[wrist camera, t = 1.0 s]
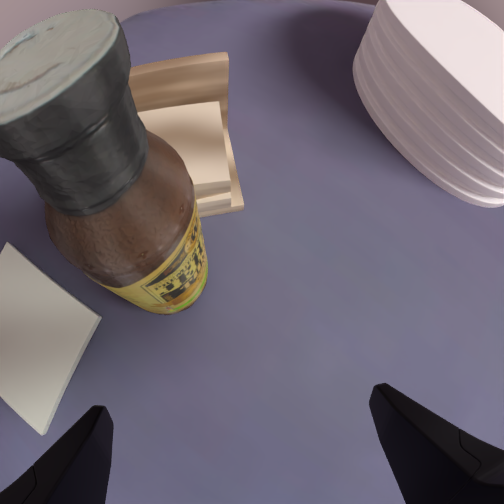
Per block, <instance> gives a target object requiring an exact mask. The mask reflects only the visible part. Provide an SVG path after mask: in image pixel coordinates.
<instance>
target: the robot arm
mask: <svg viewBox="0 0 504 504" xmlns="http://www.w3.org/2000/svg"><path fill="white" fill-rule="evenodd" d="M369 406H370V410H371V413H372V417H373V420H374V423H375V427H376V430H377V434H378V437H379V440H380V443H381V445H382V448H383V450H384V452H385V455H386V457H387V459H388V462H389V464H390V466H391V469H392V471H393V474H394V476H395V478H396V481H397V483H398V486H399V488H400V490H401V493H402V495H403V498H404V500H405V503H406V504H504V450H502V449H499V448H497V447H495V446H492V445H490V444H488V443H486V442H484V441H482V440H479V439H477V438H476V437H474V436H472V435H470V434H468V433H467V432H465V431H463V430H462V429H459V428H458V427H456V426H455V425H453V424H451V423H450V422H448V421H446V420H445V419H443V418H441V417H440V416H438V415H436V414H435V413H433V412H432V411H430V410H428V409H427V408H425V407H423V406H422V405H420V404H419V403H417V402H415V401H414V400H412V399H411V398H409V397H407V396H406V395H404V394H403V393H401V392H399V391H398V390H396V389H395V388H393V387H391V386H390V385H388V384H386V383H382V384H378V385H375V386H374V388H373V391H372V394H371V397H370V400H369ZM112 441H113V421H112V419H111V417H110V414H109V412H108V410H107V408H106V407H105V406H101V405H94V406H92V407H91V408H90V409H89V410H88V411H87V412H86V413H85V414H84V415H83V416H82V417H81V418H80V419H79V420H78V421H77V422H76V423H75V424H74V425H73V426H72V427H71V428H70V429H69V430H68V431H67V432H66V433H65V434H64V435H63V436H62V437H61V438H60V439H59V440H57V441H56V442H55V443H54V444H53V445H52V446H51V447H50V448H49V449H48V450H47V451H46V452H45V453H44V454H43V455H42V456H41V457H40V458H39V459H38V460H37V461H36V462H35V463H34V464H33V465H32V466H31V467H30V468H29V469H28V470H27V471H26V472H25V473H24V474H23V475H21V476H20V477H19V478H18V479H17V480H16V481H15V482H13V483H12V484H11V485H10V486H8V487H7V488H6V489H4V490H3V491H2V492H1V493H0V504H105V500H106V493H107V487H108V480H109V474H110V468H111V459H112Z"/></svg>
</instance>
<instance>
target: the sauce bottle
mask: <svg viewBox="0 0 504 504" xmlns="http://www.w3.org/2000/svg"><path fill="white" fill-rule="evenodd" d="M130 69H131V62H130V54H129V50H128V46H127V41H126V38H125V35H124V32H123V29H122V27H121V25H120V23H119V20H118V19H117V17H116V16H115V15H113V14H112V13H109V12H106V11H102V10H96V9H89V10H88V9H85V10H77V11H72V12H66V13H62V14H59V15H56V16H54V17H51V18H49V19H46V20H44V21H42V22H40V23H38V24H36V25H34V26H32V27H30V28H29V29H27V30H25V31H23V32H22V33H20V34H19V35H17V36H16V37H15V38H13V39H12V40H11V41H10V42H9V43H8V44H7V45H6V46H4V47H3V48H2V49H1V50H0V157H2V158H5V159H7V160H10V161H13V162H14V163H15V165H16V166H17V167H18V168H19V169H21V171H22V172H24V174H25V175H26V176H27V177H28V178H29V180H30V181H31V182H32V183H33V184H34V185H35V187H36V189H37V191H38V193H39V195H40V197H41V198H42V199H43V200H45V219H46V225H47V228H48V232H49V235H50V239H51V240H52V242H53V243H54V244H55V246H56V247H57V249H58V250H59V251H60V253H62V254H63V255H64V256H65V258H66V259H67V260H68V261H69V262H70V263H71V264H73V265H74V266H75V267H77V268H79V269H81V270H82V271H83V272H84V273H85V274H86V275H87V276H88V277H89V278H90V279H92V280H93V281H95V282H97V283H98V284H100V285H102V286H104V287H105V288H107V289H109V290H111V291H112V292H114V293H115V294H117V295H119V296H120V297H122V298H124V299H126V300H128V301H130V302H131V303H133V304H135V305H137V306H139V307H140V308H142V309H144V310H147V311H149V312H152V313H157V314H164V315H171V314H175V313H178V312H180V311H183V310H186V309H187V308H189V307H190V306H192V305H193V303H194V302H195V301H196V300H197V299H198V298H199V296H200V294H201V293H202V291H203V289H204V288H205V286H206V282H207V274H208V262H207V257H206V252H205V246H204V238H203V234H202V228H201V223H200V218H199V213H198V207H197V201H196V195H195V189H194V184H193V181H192V179H191V177H190V175H189V173H188V171H187V168H186V166H185V164H184V161H183V160H182V158H181V157H180V156H179V154H178V153H177V151H176V150H175V149H174V148H173V147H172V146H171V145H169V144H168V143H167V142H166V141H165V140H164V139H162V138H160V137H159V136H157V135H155V134H153V133H152V132H150V131H148V130H146V128H145V126H144V123H143V122H142V120H141V119H140V117H139V116H138V114H137V110H136V106H135V103H134V100H133V97H132V94H131V89H130V87H129V84H128V81H129V75H130Z"/></svg>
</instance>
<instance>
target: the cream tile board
mask: <svg viewBox="0 0 504 504" xmlns="http://www.w3.org/2000/svg"><path fill="white" fill-rule="evenodd" d="M101 319H102V317H101V316H100V315H99V314H97V313H96V312H94V311H93V310H92V309H90V308H89V307H88V306H86V305H85V304H84V303H82V302H81V301H80V300H78V299H77V298H76V297H74V296H73V295H72V294H70V293H69V292H68V291H66V290H65V289H64V288H63V287H61V286H60V285H59V284H58V283H56V282H55V281H54V280H53V279H51V278H50V277H49V276H48V275H46V274H45V273H44V272H43V271H42V270H40V269H39V268H38V267H37V266H36V265H35V264H33V263H32V262H31V261H30V260H29V259H28V258H26V257H25V256H24V255H23V254H22V253H21V252H20V251H19V250H17V249H16V248H15V247H14V246H13V245H12V244H10V243H9V242H7V243H6V245H5V246H4V248H3V250H2V252H1V254H0V396H1V398H2V399H3V400H4V401H5V402H6V403H7V404H8V405H9V406H10V407H11V408H12V409H13V410H14V411H15V412H16V413H17V414H18V415H20V416H21V417H22V418H23V419H24V420H25V421H26V422H27V423H28V424H29V425H30V426H31V427H33V428H34V429H35V430H36V431H37V432H38V433H39V434H41V435H44V434H46V433H47V430H48V428H49V426H50V423H51V421H52V419H53V416H54V414H55V412H56V409H57V407H58V405H59V403H60V400H61V398H62V396H63V394H64V392H65V390H66V387H67V385H68V383H69V381H70V379H71V377H72V375H73V373H74V371H75V369H76V367H77V365H78V363H79V361H80V359H81V357H82V355H83V353H84V351H85V349H86V347H87V345H88V343H89V341H90V339H91V337H92V335H93V333H94V332H95V330H96V328H97V326H98V324H99V322H100V320H101Z"/></svg>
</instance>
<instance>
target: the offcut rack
mask: <svg viewBox="0 0 504 504" xmlns="http://www.w3.org/2000/svg"><path fill="white" fill-rule="evenodd" d="M228 76H229V58H228V55H227V52H219V53H210V54H202V55H195V56H188V57H182V58H175V59H170V60H164V61H159V62H154V63H149V64H144V65H140V66H135V67H131V69H130V75H129V81H128V84H129V87H130V89H131V94H132V97H133V100H134V103H135V106H136V110H137V114H138V116H139V117H140V119H141V120H142V122H143V123H144V126H145V128H146V130H148V131H150V132H152V133H153V134H155V135H157V136H159V137H160V138H162V139H164V140H165V141H166V142H167V143H168V144H169V145H171V146H172V147H173V148H174V149H175V150H176V151H177V153H178V154H179V156H180V157H181V158H182V160H183V161H184V164H185V166H186V168H187V171H188V173H189V175H190V177H191V179H192V181H193V184H194V189H195V195H196V201H197V207H198V213H199V218H200V217H206V216H211V215H217V214H223V213H229V212H235V211H241V210H243V209H244V202H243V198H242V193H241V189H240V184H239V180H238V175H237V171H236V166H235V162H234V157H233V153H232V148H231V144H230V139H229V135H228V130H227V113H228Z"/></svg>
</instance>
